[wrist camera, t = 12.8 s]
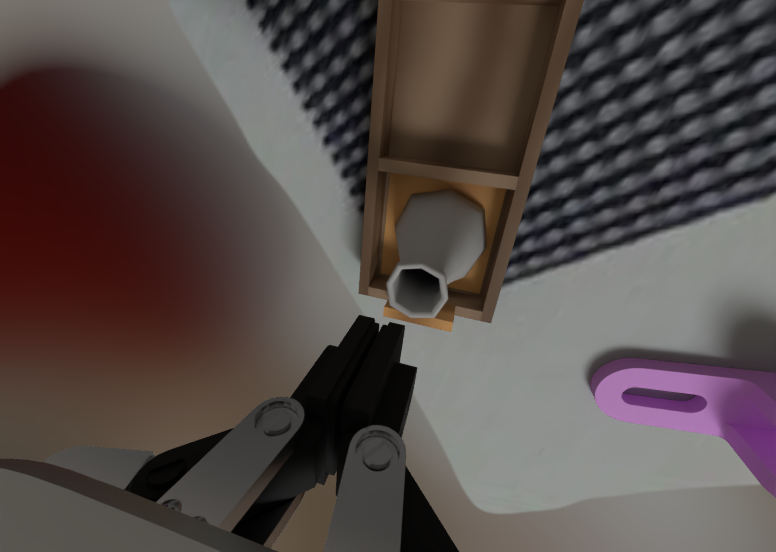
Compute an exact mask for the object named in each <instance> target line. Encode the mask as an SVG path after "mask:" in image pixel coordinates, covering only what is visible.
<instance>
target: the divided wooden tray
mask: <svg viewBox="0 0 776 552" xmlns="http://www.w3.org/2000/svg"><path fill="white" fill-rule="evenodd" d="M583 1H584V0H379V1H378V16H377V30H376V45H375V60H374V75H373V89H372V104H371V119H370V134H369V148H368V163H367V178H366V193H365V207H364V222H363V237H362V252H361V266H360V281H359V294H363V295H368V296H372V297H376V298H381V299H385V300H388V301H387V303H386V305H385V306H384V314H383V316H385V317H390V318H394V319H398V320H402V321H407V322H411V323H415V324H419V325H424V326H428V327H432V328H436V329H440V330H445V331H449V332H451V330H452V325H453V320H454V315H457V316H461V317H465V318H470V319H474V320H479V321H483V322H488V323H491V321H492V317H493V314H494V310H495V307H496V304H497V300H498V297H499V293H500V290H501V286H502V283H503V279H504V276H505V272H506V269H507V265H508V262H509V258H510V255H511V251H512V248H513V244H514V241H515V237H516V234H517V231H518V227H519V224H520V220H521V217H522V213H523V210H524V206H525V203H526V199H527V196H528V192H529V189H530V185H531V182H532V178H533V175H534V171H535V168H536V165H537V161H538V158H539V154H540V151H541V147H542V144H543V140H544V137H545V133H546V130H547V126H548V123H549V119H550V116H551V112H552V109H553V105H554V102H555V98H556V95H557V92H558V88H559V85H560V81H561V78H562V74H563V71H564V67H565V64H566V60H567V57H568V53H569V50H570V46H571V43H572V39H573V36H574V32H575V29H576V25H577V22H578V19H579V15H580V12H581V8H582V5H583ZM448 189H451V190H453V191H455V192H456V193H458V194H460V195H461V196H463V197H465V198H466V199H468V200H470V201H471V202H473V203H475V204H477V205H478V206H480V207H482V208H483V209H485V222H486V242H487V248H486V249H485V250H484V252H483V253H482V254H481V256H480V257H479V259H478V260H477V261H476V263H475V264H474V265H473V267H472V268H471V269H470V271H469V272H468V274H467V275H466V276H465V277H463V278H461V279H458V280H455V281H453V282H451V283H449V284H447V290H448V300H447V301H446V303H445V304H444V305H443V307H442V308H441V310H440V311H439V312H438V314H437V315H436V316H435V318H410V317H408V316H406V315H405V314H403V313H402V312H400V311H398V310H397V309H395V308H393V307H392V306H390V304H389V298H388V293H387V287H386V282H387V281H388V279H389V277H390V275H391V274H392V272H393V270H394V269H395V267H396V265H397V264H398V262H400V259H399V252H398V246H397V239H396V233H395V227H394V226H395V224H396V222H397V220H398V219H399V217H400V215H401V213H402V211H403V209H404V207H405V206H406V204H407V202H408V200H409V198H410V196H411V195H412V194H416V193H424V192H432V191H440V190H448Z"/></svg>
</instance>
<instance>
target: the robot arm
mask: <svg viewBox="0 0 776 552" xmlns="http://www.w3.org/2000/svg"><path fill="white" fill-rule="evenodd" d="M404 330H405V325H400V324H396V323H392V322H389V324H388V326H387V325H383V326H382V327H381V329H380V331H379V324H378V323H375V319H374V318H371V317H366V316H362V315H359V316H358V318H357V319H356V321H355V322H354V323H353V325H352V327H351V328H350V329H349V331H348V332H347V334H346V336H345V337H344V338H343V340H342V342H341V343H340V344H339V346H338V347H336V346H332V345H329V346H327V347H326V349H325V350H324V351H323V353H322V354H321V355H320V357H319V358H318V360H317V361H316V362H315V364H314V365H313V367H312V368H311V369H310V371H309V372H308V374H307V375H306V376H305V378H304V379H303V381H302V382H301V383H300V385H299V386H298V388H297V389H296V390H295V392H294V393H293V394H292V396H291V397H290V398H288V397H276V398H271V399H269V400H266V401H264V402H263V403H261V404H260V405H258V406H257V407H256V408H255V409H254V410H252V411H251V412H250V413H249V414H248V415H247V416H246V417H245V418H244V419H243V420H242V421H241V422H240V423H239V424H238V425H237V426H236V427H235V428H232V429H229V430H227V431H224V432H221V433H218V434H215V435H212V436H209V437H206V438H203V439H200V440H197V441H194V442H191V443H188V444H185V445H182V446H180V447H177V448H174V449H171V450H168V451H166V452H164V453H161V454H159V455H157V456H154V455H153V452H152V451H141V450H129V449H116V448H104V447H91V446H77V447H71V448H68V449H65V450H62V451H60V452H58V453H56V454H55V455H52V456H51V457H49V458H47V459H46V460H45V461H43V462H39V461H33V460H28V459H14V458H5V459H4V458H3V459H0V552H277V551H275V550H272V549H271V547H272V546H273V544H274V543H275V541H276V540H277V538H278V537H279V535H280V533H281V532H282V530H283V529H284V527H285V526H286V524H287V523H288V521H289V520H290V518H291V516H292V515H293V513H294V512H295V510H296V509H297V507H298V506H299V504H300V503H301V501H302V499H303V497H304V495H305V491H308V490H310V489H312V488H314V487H315V485H316V483H319V484H322V485H324V484H325V482H326V479H327V477H328V475H329V474H331V475H335V473H336V471H337V482H336V496H337V499H336V503H335V508H334V511H333V516H332V520H331V524H330V528H329V532H328V536H327V540H326V544H325V548H324V552H459V551H458V549H457V548H456V546H455V544H454V543H453V541H452V540H451V538H450V536H449V535H448V533H447V532H446V530H445V528H444V527H443V525H442V524H441V522H440V520H439V519H438V517H437V515H436V514H435V512H434V511H433V509H432V507H431V506H430V504H429V503H428V501H427V499H426V498H425V496H424V494H423V493H422V491H421V490H420V488H419V486H418V485H417V483H416V482H415V480H414V478H413V477H412V475H411V474H410V472H409V470H408V469H407V467H406V448H405V444H404V442H403V440H402V434H403V430H404V426H405V422H406V419H407V415H408V411H409V406H410V403H411V398H412V394H413V389H414V384H415V378H416V373H417V367H413V366H409V365H406V364H402V363H400V357H401V350H402V344H403V337H404Z"/></svg>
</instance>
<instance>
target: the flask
mask: <svg viewBox="0 0 776 552" xmlns="http://www.w3.org/2000/svg"><path fill="white" fill-rule="evenodd" d="M394 227H395V233H396V239H397V246H398V252H399V259H400V262H398V264H397V265H396V267H395V269H394V270H393V272H392V274H391V275H390V277H389V279H388V281H387V282H386V287H387V293H388V298H389V304H390V306H392V307H393V308H395V309H397V310H398V311H400V312H402V313H403V314H405V315H406V316H408V317H410V318H435V316H436V315H437V314H438V312H439V311H440V310H441V308H442V307H443V305H444V304H445V303H446V301H447V300H448V290H447V284H449V283H451V282H453V281H455V280H458V279H461V278H463V277H465V276H466V275H467V274H468V272H469V271H470V269H471V268H472V267H473V265H474V264H475V263H476V261H477V260H478V259H479V257H480V256H481V254H482V253H483V252H484V250H485V249H486V248H487V242H486V222H485V209H483V208H482V207H480V206H478V205H477V204H475V203H473V202H471V201H470V200H468V199H466V198H465V197H463V196H461V195H460V194H458V193H456V192H455V191H453V190H451V189H448V190H440V191H432V192H424V193H416V194H412V195H411V196H410V198H409V200H408V202H407V204H406V206H405V207H404V209H403V211H402V213H401V215H400V217H399V219H398V220H397V222H396V224H395V226H394Z"/></svg>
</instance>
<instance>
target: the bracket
mask: <svg viewBox="0 0 776 552" xmlns="http://www.w3.org/2000/svg"><path fill="white" fill-rule="evenodd" d="M632 387H639V388H647V389H655V390H663V391H671V392H679V393H687V394H695V395H696V396H695V397H694V398H692V399H690V400H687V401H676V400H668V399H660V398H653V397H645V396H638V395H630V394H624V393H623V392H624V391H625V390H626V389H628V388H632ZM591 391H592V393H593V396H594V398H595V401H596V403H597V405H598V407H599V408H600V409H601V410H602V411H603V412H604V413H605V414H607V415H608V416H610V417H612V418H614V419H617V420H620V421H624V422H631V423H637V424H644V425H650V426H657V427H663V428H670V429H677V430H683V431H690V432H696V433H703V434H710V435H716V436H719V437H721V438H723V439H725V440H726V441H727V442H728V443H729V444H730V446H731V447H732V448H733V449H734V451H735V452H736V453H737V454H738V456H739V457H740V458H741V459H742V461H743V462H744V463H745V465H746V466H747V467H748V468H749V470H750V471H751V472H752V473H753V475H754V476H755V477H756V478H757V480H758V481H759V482H760V483H761V485H762V486H763V487H764V488H765V489H766V490H767V491H768V492H770V493H771V494H772V495H773V496H775V497H776V373H773V372H763V371H754V370H744V369H735V368H725V367H716V366H706V365H697V364H687V363H678V362H668V361H659V360H649V359H640V358H623V359H618V360H614V361H611V362H609V363H607V364H605V365H603V366H602V367H600V368H599V369H598V370H597V371H596V372H595V374H594V375H593V377H592V379H591Z"/></svg>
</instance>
